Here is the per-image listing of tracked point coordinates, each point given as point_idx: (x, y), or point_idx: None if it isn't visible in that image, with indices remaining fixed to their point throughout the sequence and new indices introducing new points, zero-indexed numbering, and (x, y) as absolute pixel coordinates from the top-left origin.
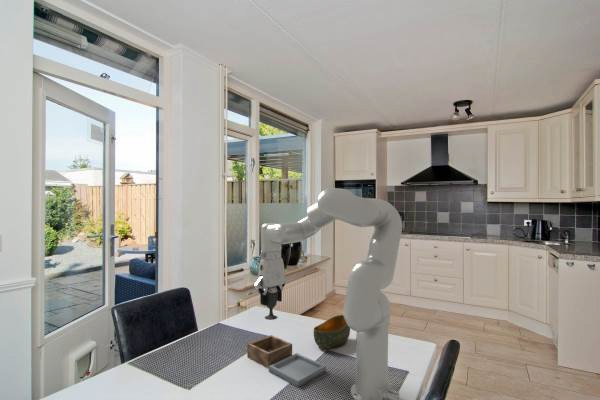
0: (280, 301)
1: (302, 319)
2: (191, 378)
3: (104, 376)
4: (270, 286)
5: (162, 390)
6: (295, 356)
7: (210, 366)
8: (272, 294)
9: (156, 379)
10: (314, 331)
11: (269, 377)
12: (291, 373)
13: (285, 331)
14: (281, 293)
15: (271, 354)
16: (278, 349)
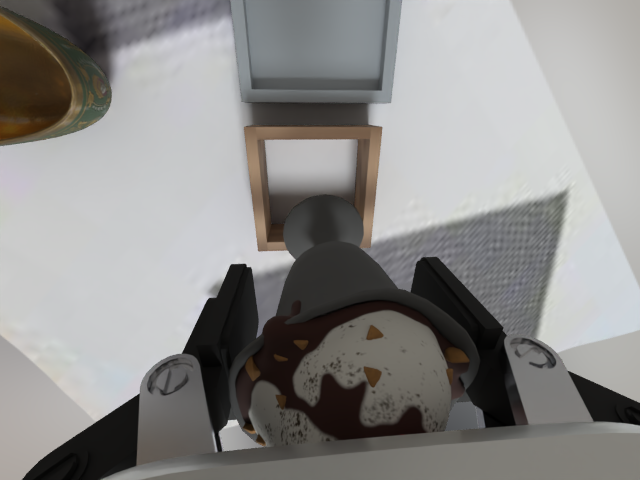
0: (245, 264)
1: (26, 328)
2: (524, 231)
3: (586, 342)
4: (613, 441)
5: (592, 229)
6: (260, 89)
7: (456, 251)
8: (414, 307)
9: (559, 277)
10: (82, 95)
11: (410, 70)
12: (356, 4)
13: (146, 291)
14: (210, 319)
15: (365, 126)
16: (325, 129)
